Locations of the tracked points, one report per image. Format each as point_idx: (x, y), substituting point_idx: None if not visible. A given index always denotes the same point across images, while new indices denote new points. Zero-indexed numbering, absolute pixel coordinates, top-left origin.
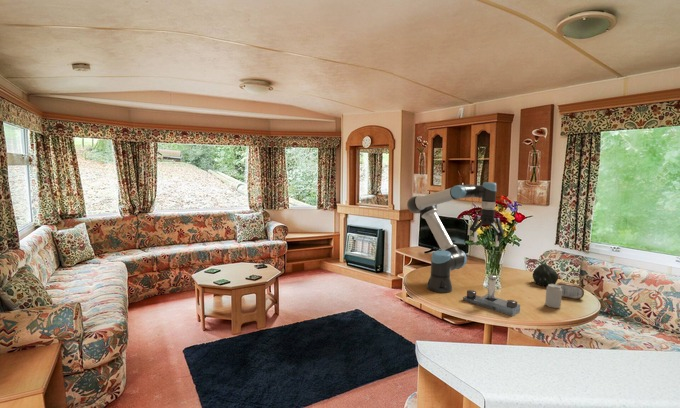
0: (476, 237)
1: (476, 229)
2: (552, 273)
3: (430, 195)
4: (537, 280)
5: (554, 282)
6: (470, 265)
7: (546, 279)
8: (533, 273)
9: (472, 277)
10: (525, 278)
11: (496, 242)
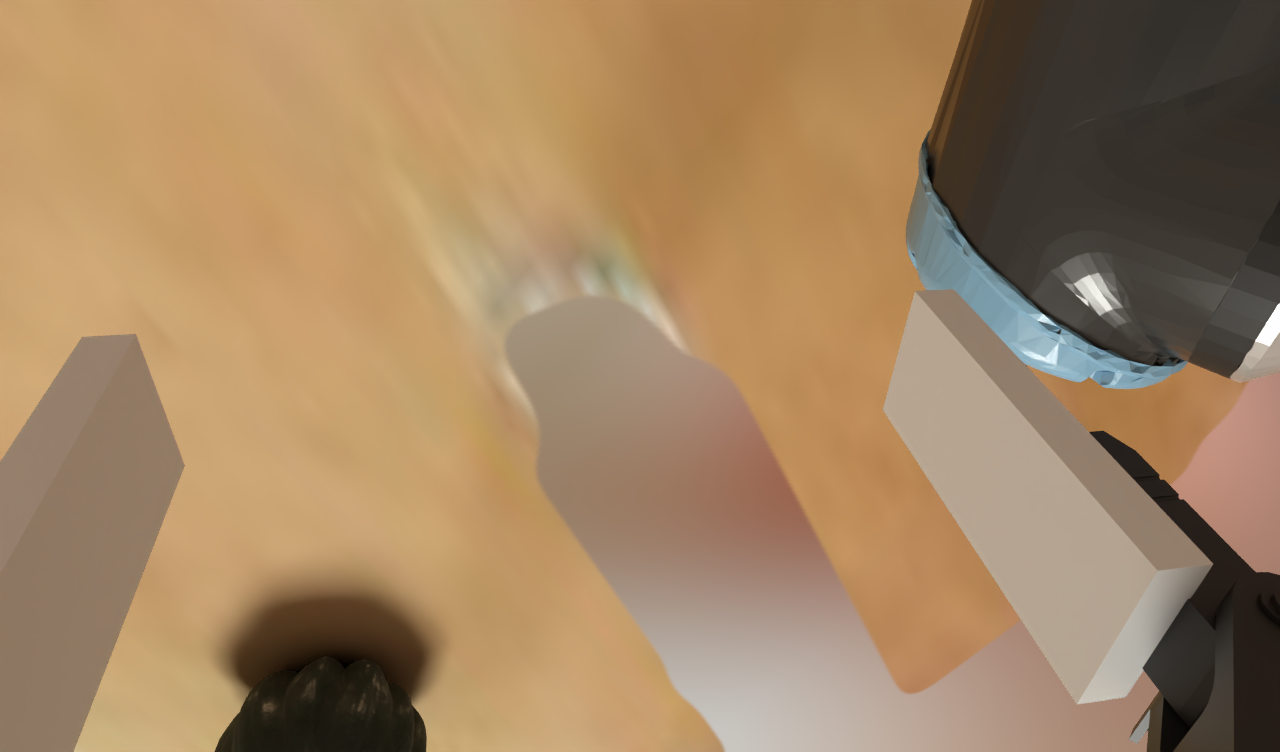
0: (965, 487)
1: (1196, 742)
2: None
3: None
4: (346, 678)
5: (229, 726)
6: (952, 635)
7: (257, 710)
8: (399, 732)
9: (830, 416)
10: (506, 695)
11: (24, 441)
